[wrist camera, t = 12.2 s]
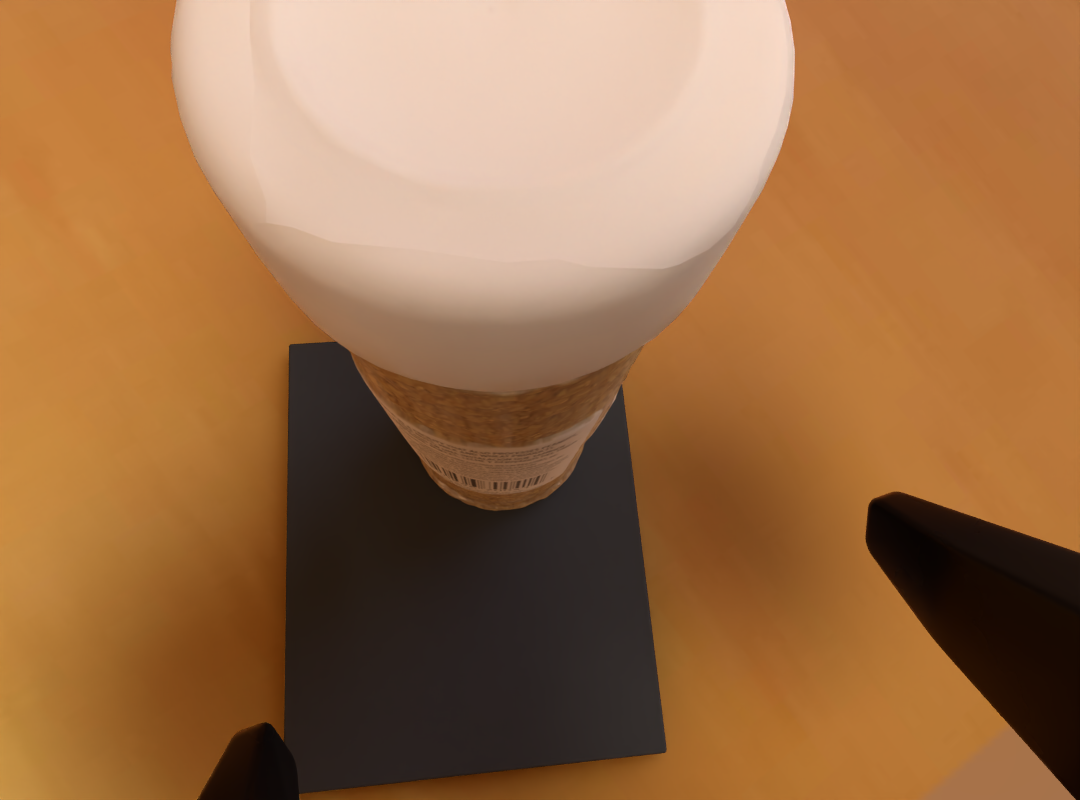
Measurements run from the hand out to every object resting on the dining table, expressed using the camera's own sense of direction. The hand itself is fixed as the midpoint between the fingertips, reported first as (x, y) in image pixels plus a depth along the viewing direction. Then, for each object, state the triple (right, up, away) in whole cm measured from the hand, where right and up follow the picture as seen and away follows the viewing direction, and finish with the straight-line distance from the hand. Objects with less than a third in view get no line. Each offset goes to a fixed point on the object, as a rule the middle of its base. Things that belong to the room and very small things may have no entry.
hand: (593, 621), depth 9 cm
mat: (-3, 0, +8) cm, 8 cm away
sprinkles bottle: (-2, +2, +8) cm, 9 cm away
